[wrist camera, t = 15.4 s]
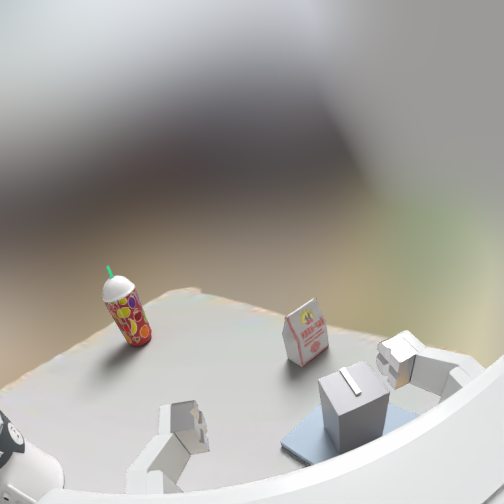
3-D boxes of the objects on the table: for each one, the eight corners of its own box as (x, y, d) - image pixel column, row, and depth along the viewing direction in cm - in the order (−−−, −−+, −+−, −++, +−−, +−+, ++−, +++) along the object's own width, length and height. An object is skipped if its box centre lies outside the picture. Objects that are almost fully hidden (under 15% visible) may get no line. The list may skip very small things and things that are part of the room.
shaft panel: (365, 495, 22) (371, 474, 19) (281, 445, 32) (271, 416, 30) (419, 420, 29) (429, 386, 26) (340, 387, 39) (338, 353, 37)
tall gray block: (381, 438, 28) (390, 389, 24) (339, 457, 27) (338, 414, 23) (362, 409, 33) (364, 358, 29) (323, 425, 32) (317, 377, 29)
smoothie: (126, 336, 67) (93, 267, 60) (154, 326, 70) (124, 255, 63) (126, 354, 60) (88, 278, 53) (158, 343, 62) (123, 265, 55)
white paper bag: (287, 358, 49) (277, 313, 46) (314, 338, 52) (307, 294, 49) (301, 367, 46) (293, 321, 43) (328, 346, 49) (323, 300, 46)
